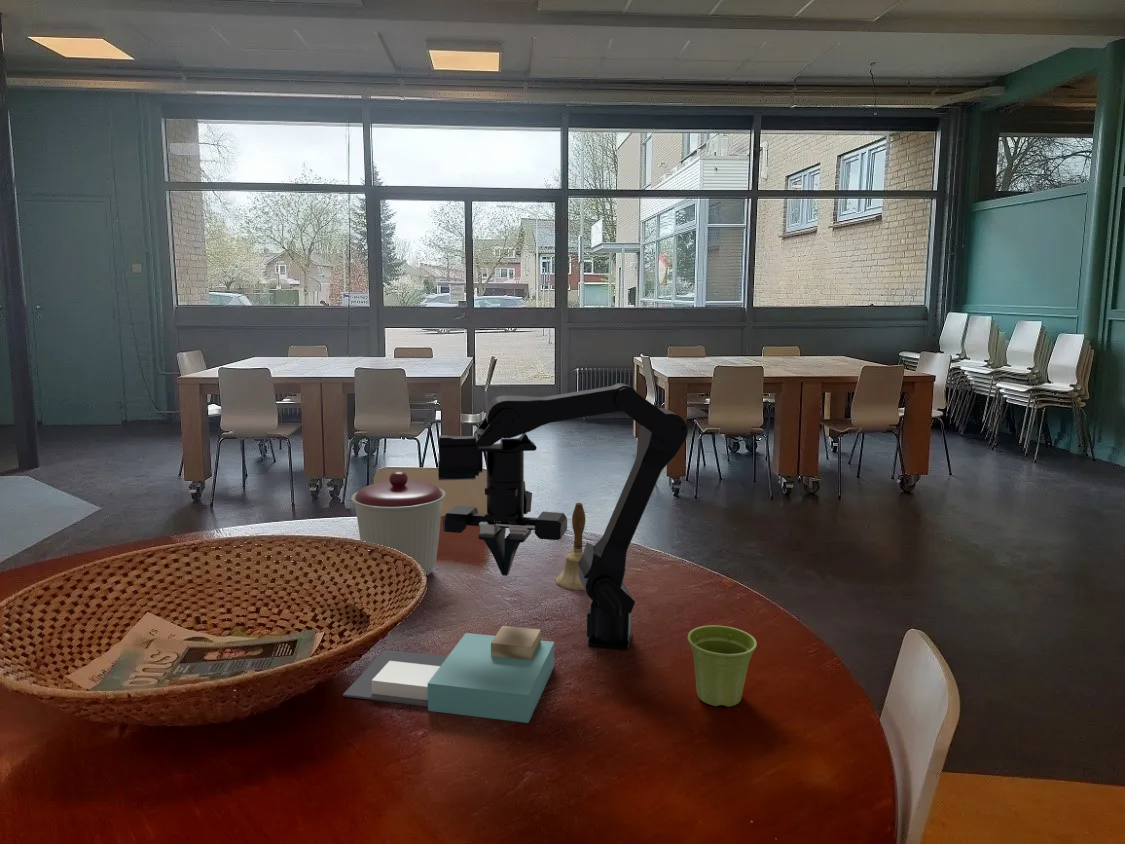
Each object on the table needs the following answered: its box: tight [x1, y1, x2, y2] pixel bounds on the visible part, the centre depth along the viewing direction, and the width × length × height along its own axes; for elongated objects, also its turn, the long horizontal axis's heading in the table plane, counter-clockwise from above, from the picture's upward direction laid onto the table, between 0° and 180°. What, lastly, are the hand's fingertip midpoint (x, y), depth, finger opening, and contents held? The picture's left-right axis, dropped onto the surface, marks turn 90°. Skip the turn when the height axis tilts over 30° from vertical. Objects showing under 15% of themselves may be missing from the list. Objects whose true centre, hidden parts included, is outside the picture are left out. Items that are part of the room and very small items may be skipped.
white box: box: [372, 661, 440, 700], centre depth 112 cm, size 9×6×2 cm, turn 78°
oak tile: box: [491, 625, 542, 660], centre depth 115 cm, size 6×6×2 cm
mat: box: [342, 649, 448, 707], centre depth 115 cm, size 13×14×1 cm
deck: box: [427, 632, 555, 724], centre depth 112 cm, size 14×16×4 cm
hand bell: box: [555, 502, 586, 591], centre depth 152 cm, size 8×8×16 cm
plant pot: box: [687, 624, 758, 708], centre depth 110 cm, size 9×9×9 cm
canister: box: [350, 470, 446, 577], centre depth 154 cm, size 18×18×21 cm
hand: (505, 574), depth 123 cm, fingers closed
